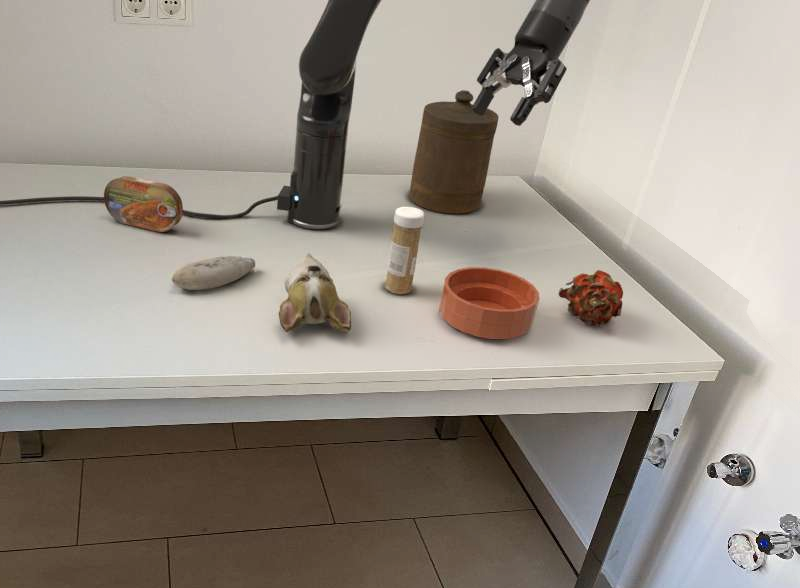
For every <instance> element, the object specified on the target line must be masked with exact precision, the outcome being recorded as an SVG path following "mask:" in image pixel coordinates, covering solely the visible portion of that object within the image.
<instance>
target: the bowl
mask: <svg viewBox="0 0 800 588" xmlns="http://www.w3.org/2000/svg"><path fill="white" fill-rule="evenodd" d="M539 302H540V292H539V290H538V289H537V288H536V286H534V284H533V283H531V282H529V281H528V280H527V279H525V278H524V277H522V276H519V275H517V274H515V273H512V272H510V271H505V270H502V269H498V268H491V267H484V266H470V267H461V268H458V269H456V270H453V271H451V272H449V273H448V274H447V275H446V276H445V277H444V281H443V286H442V290H441V295H440V301H439V307H438V312H439V314H440V316H441V317H442V319H443V320H444V321H445V322H446V323H447V324H449V325H450V327H453V328H455V329H457V330H459V331H461V332H462V333H464V334H468V335H471V336H474V337H479V338H483V339H484V338H485V339H491V340H509V339H515V338H518V337H519V338H520V337H521V336H523V335H525V334H527V333H529V331H530V330H531V328H532V327H533V325H534V322H535V321H534V320H535V318H536V313H537V310H538V306H539Z"/></svg>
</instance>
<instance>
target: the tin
mask: <svg viewBox="0 0 800 588" xmlns="http://www.w3.org/2000/svg"><path fill="white" fill-rule="evenodd" d="M103 197H104V201H103V203H104V206H105V208H106V210H107V212H108V214H109V216H111V217H112V219H114V220H115V221H117V222H118V223H120V224H122V225H126V226H132V227H136V228H140V229H145V230H149V231H153V232H158V233H166V232H168V231H170V230H171V229H173V228H174V227H175V226H177V225H178V224H179V223H180V222H181V220H182V218H183V215H184V214H183V210H184V208H183V206H184V205H183V200H182V198H181V196H180V195H179V193H178V192H177V190H176V189H175V188H174V187H172V186H171V185H170V184H167V183H163V182H158V181H153V180H149V179H145V178H144V179H143V178H139V177H135V176H130V175H129V176H128V175H123V176H120V177H118V178H117V177H116V178H113V179H112V180H110V181H109V182H107V184H106V186H105V187H104V190H103Z"/></svg>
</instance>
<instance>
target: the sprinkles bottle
mask: <svg viewBox="0 0 800 588" xmlns="http://www.w3.org/2000/svg"><path fill="white" fill-rule="evenodd" d="M424 221H425V212H424V211H423V210H421V209H419V208H417V207H413V206H401V207H398V208H396V209H395V212H394V217H393V224H394V226H393V231H392V237H391V242H390V248H389V249H390V250H389V255H388V256H389V257H388V261H387V262H388V263H387V273H386V280H385V283H384V288H385V290H386V291H388V292H389V293H392V294H395V295H406V294H409V293H410V292H412V290H413V282H414V281H413V280H414V276H415V275H414V274H415V271H416V266H417V259H418V253H419V244H420V238H421V232H422V228H423V226H424Z"/></svg>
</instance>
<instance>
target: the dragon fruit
mask: <svg viewBox="0 0 800 588" xmlns="http://www.w3.org/2000/svg"><path fill="white" fill-rule="evenodd" d="M569 285H571V286H570V287H566V288H564V287H560V289H559V291H558V296H559V297H560V298H561V299H565V300H566V301H568V302H569V303H568V305H567V306H568V307H567V312H568V313H570V314H571V316H572V317H578V318H579V320H580V321H581V322H583V323H585V324H587V325H590V326H596V325H598V326H604V325H608V324H609V322H610V321H611V320H612V318H616V317H622V308H623V300H622V299H623V296H624V290H623V287H622V285H621V284H620V282H619V281H615V280H614V279H613V278H612V276H611V274H609V273H607V272H606V271H603V270H600V269H597V270H595V272H594V273H593V274H587V273H580V274H577V275H576V276H574V277H572V280H570V281H569V282H566V283H565V286H569Z"/></svg>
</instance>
